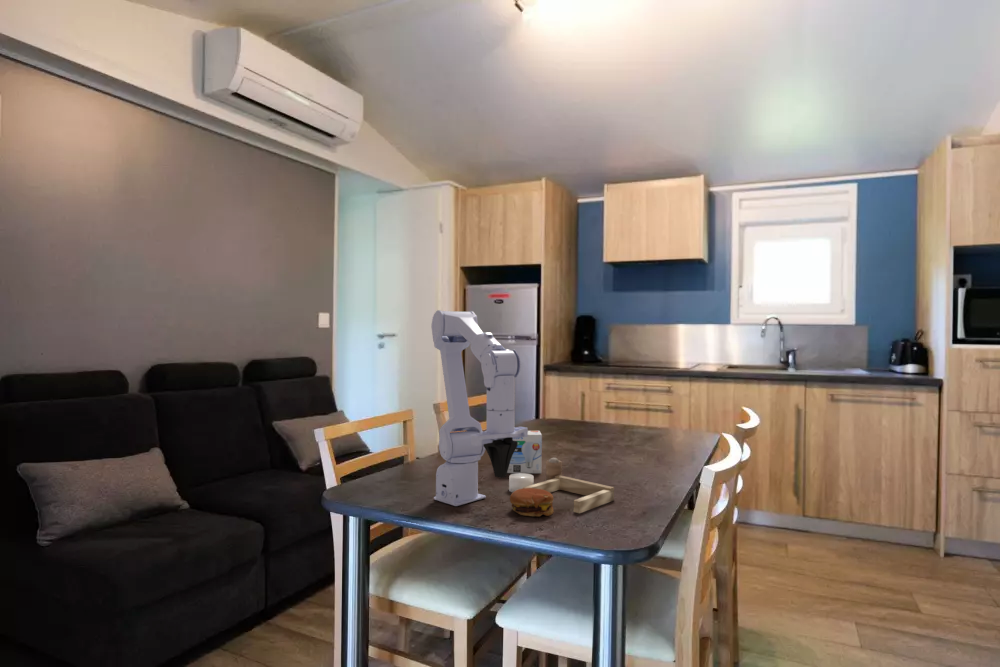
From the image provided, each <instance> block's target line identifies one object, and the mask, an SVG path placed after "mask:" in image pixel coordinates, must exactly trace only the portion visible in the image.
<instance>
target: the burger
mask: <svg viewBox="0 0 1000 667" xmlns="http://www.w3.org/2000/svg"><path fill="white" fill-rule="evenodd" d="M554 500H555V499H554V496H553V494H552V492H548V491H546V490H543V489H536V488H523V489H518V490H516V491H514V492H511V494H510V496H509V502H510V503H511V509H512V511H513V512H515V513H517V514H519V515H520V516H524V517H538V518H539V517H541V516H543V515H544V516H546V517H550V516H551V515H553V514H554V510H555V509H554V507H553V502H554Z"/></svg>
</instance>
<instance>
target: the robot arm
mask: <svg viewBox="0 0 1000 667" xmlns="http://www.w3.org/2000/svg"><path fill="white" fill-rule="evenodd" d="M431 334H432V341H433V346H434V348H435V349H437V350H438V351H439V352H440V358H441V365H442V366H441V367H442V374H443V382H444V387H445V398H446V404H447V411H448V420H447V421H445V422H444V424H442V426H440V428H439V429H438V430H439V431H438V434H439V435H438V436H439V440H438V449H439V454H440V456H441V458H442V459H443V460H445V462H444V463H442V464H440V465H439V466H438V467H437V469H436V471H435V472H436V473H435V496H433V499H434V500H435V501H439V502H441V503H443V504H447V505H451V506H454V507H458V506H462V505H466V504H468V503H472V502H476V501H479V500H482V499H486V498H487V496H486V495H485V494H481V493H479V490H478V489H479V484H478V483H479V461H481V459H482V457H483V456H484V454H485V452H486V453H487V455H488V456H489V460H490V462H491V463H490V464H491V466H492V468H493V475H494V478H495V477H496V478H500V479H504V478H506V477H507V475H508V473H507V471H508V467H509V464H510V460H511V458H512V455H513V453H514V451H515V449H516V448H517V446H518V442H517V441H513V438H518V437H528V431H529V430H528V429H529V428H528V427H527V426H526V427H525V426H517V427H515V426H516V424H515V423H516V422H515V420H516V419H515V413H516V412H515V411H516V410H515V409H516V407H515V406H516V405H515V402H516V401H515V400H516V399H515V398H516V397H515V394H516V392H515V390H516V389H515V388H516V387H515V386H516V385H515V384H516V383H515V382H516V378H517V377H518V376H519V373H520V371H521V358H520V355H519V354H518V351H517V350H516V349H514V348H513V349H508V348H505V347H504V346H503V345H502V344H501V343H500V342H499V341H498V339H496V337H494V334H493V333H492V332H487V331H486V332H484V331H483V330H482V329H481V328H480V326H479V322H478V315H477V314H476V313H475V312H474V311H473V310H469V311H460V310H458V311H455V310H453V311H452V310H450V311H449V310H441V309H439V310H438V309H437V310H435V312H434V313H433V316H432V319H431ZM469 347H470V351H471V353H472V354H473V356H475V358H476V359H477V360H478V361H479V363H480V365H481V367H480V368H481V372H482V377H483V384H484V387H486V430H484V431H483V429H482V423H480V421H478V420H476V419H475V418H474V417H472V416H471V412H470V407H469V406H470V405H469V399H468V391H467V384H466V377H465V371H464V362H463V356H462V352H463V350H466V349H467V348H469Z"/></svg>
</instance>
